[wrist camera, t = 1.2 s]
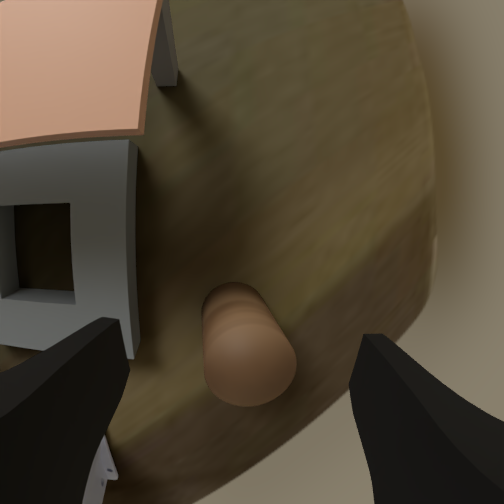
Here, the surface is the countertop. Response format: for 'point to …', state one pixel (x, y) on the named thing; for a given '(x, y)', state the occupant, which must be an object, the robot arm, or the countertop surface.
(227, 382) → the peg
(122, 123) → the orange bridge
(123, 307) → the socket
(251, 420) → the countertop surface
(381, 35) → the countertop surface
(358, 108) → the countertop surface
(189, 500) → the countertop surface
